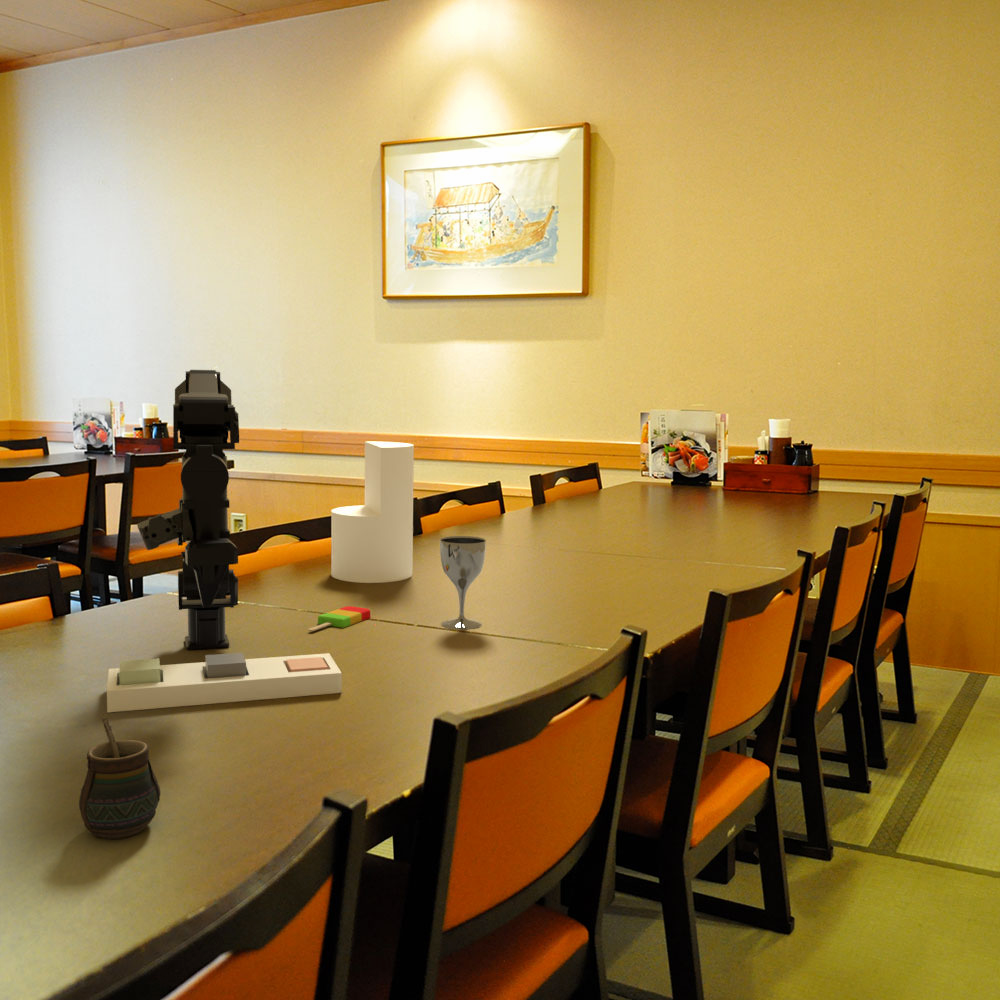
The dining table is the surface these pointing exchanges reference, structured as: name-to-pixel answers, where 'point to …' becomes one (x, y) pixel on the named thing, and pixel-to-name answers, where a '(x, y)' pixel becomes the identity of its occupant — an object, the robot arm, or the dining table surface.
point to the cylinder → (377, 520)
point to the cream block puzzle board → (223, 684)
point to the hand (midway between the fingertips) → (206, 606)
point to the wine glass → (462, 571)
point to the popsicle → (342, 617)
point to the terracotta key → (306, 664)
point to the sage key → (139, 671)
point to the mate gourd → (118, 788)
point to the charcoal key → (225, 665)
